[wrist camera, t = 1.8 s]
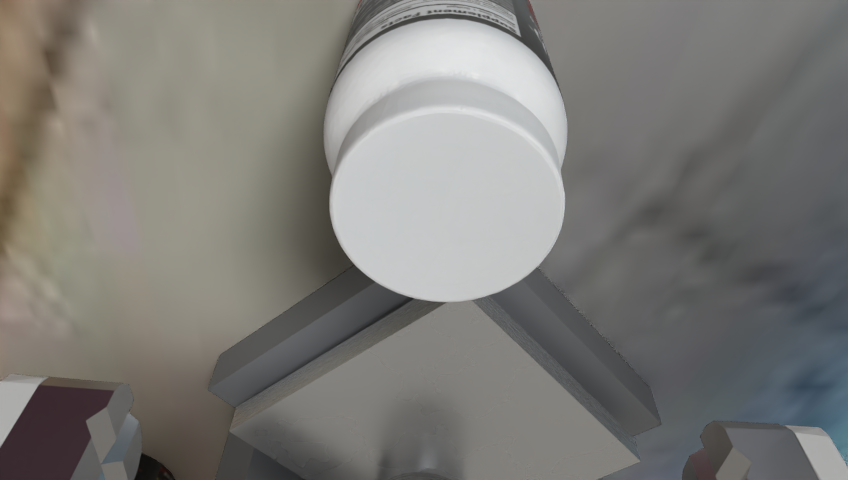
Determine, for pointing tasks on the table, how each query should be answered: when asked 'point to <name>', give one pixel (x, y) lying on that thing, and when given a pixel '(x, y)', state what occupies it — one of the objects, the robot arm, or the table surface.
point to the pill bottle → (445, 146)
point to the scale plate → (436, 405)
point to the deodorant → (151, 470)
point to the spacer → (418, 476)
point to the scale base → (370, 302)
